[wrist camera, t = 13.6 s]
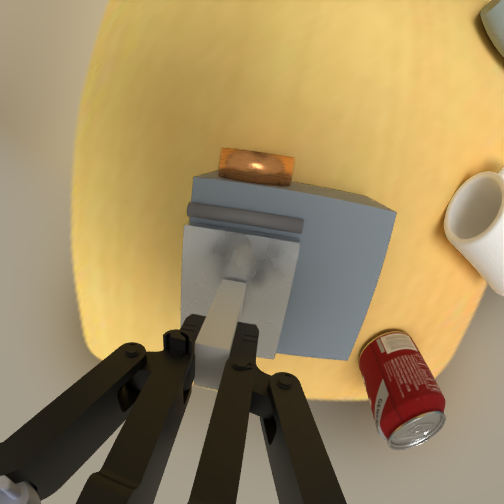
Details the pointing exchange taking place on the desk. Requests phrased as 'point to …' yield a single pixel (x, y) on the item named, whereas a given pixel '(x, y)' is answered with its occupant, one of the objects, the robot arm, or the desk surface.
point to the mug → (480, 225)
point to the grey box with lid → (309, 253)
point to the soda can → (401, 391)
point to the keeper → (240, 275)
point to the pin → (256, 167)
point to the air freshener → (494, 23)
